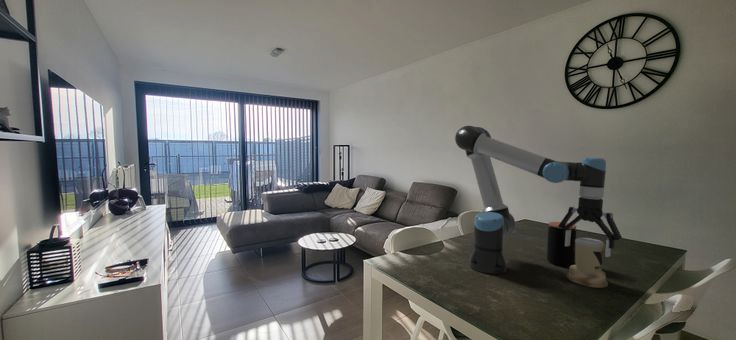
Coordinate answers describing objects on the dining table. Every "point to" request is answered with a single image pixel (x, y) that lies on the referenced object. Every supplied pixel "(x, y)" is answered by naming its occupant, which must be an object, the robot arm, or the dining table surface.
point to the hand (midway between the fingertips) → (586, 250)
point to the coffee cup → (589, 255)
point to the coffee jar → (560, 246)
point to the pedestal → (587, 278)
